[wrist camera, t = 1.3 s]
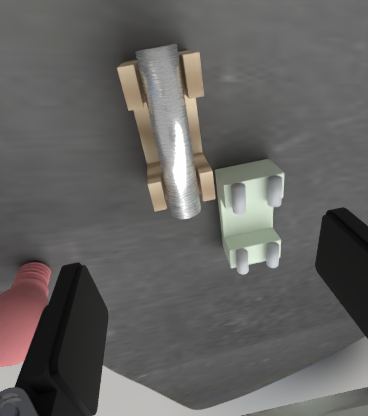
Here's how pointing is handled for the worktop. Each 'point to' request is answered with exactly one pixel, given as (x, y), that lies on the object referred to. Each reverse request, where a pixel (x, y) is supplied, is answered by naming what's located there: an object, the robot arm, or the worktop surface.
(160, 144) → the axle
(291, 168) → the worktop surface
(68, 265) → the robot arm
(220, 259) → the worktop surface
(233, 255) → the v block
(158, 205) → the wooden cradle stand
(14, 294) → the light bulb
